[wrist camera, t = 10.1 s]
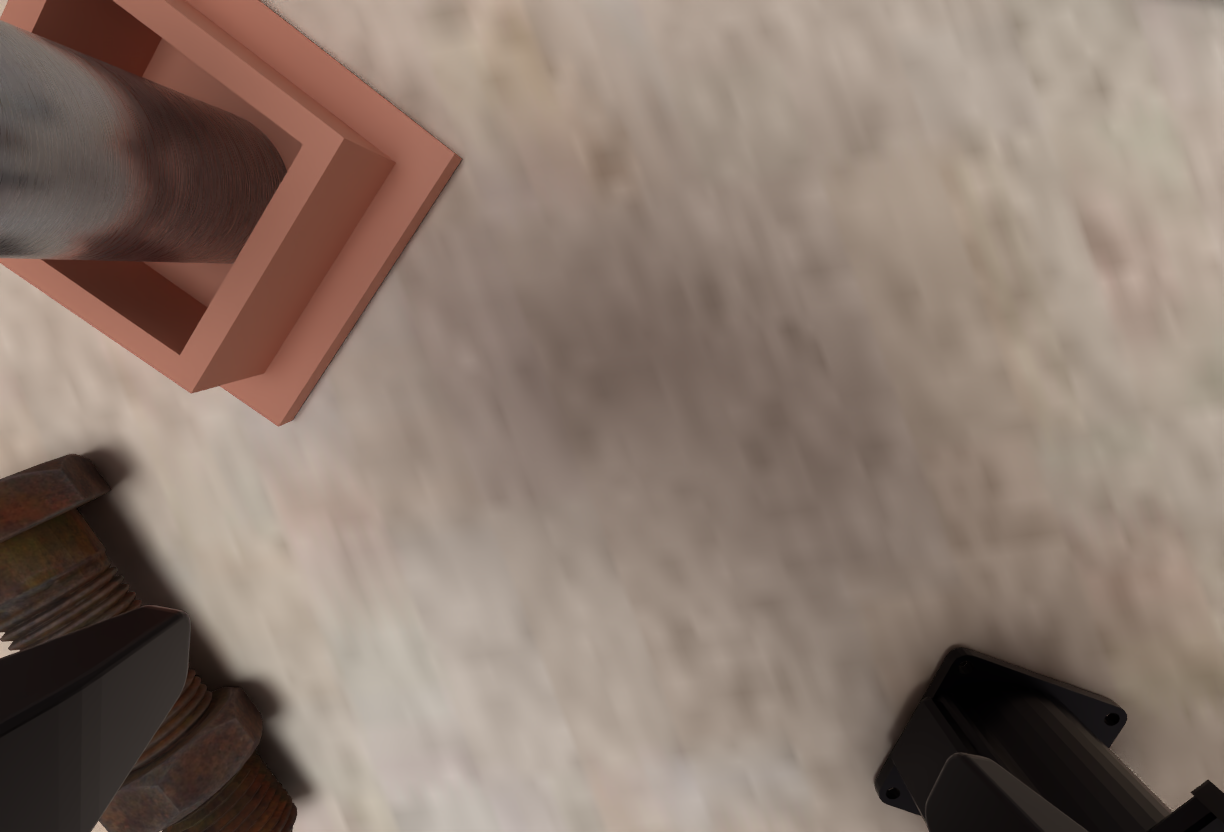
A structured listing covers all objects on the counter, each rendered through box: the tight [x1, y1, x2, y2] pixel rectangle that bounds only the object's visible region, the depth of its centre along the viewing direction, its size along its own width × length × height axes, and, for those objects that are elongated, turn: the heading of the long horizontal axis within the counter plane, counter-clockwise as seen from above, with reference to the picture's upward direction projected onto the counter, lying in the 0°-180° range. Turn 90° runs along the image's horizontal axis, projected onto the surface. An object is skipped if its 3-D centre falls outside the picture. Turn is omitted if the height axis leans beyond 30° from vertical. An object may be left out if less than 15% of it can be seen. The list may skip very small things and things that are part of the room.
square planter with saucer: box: [0, 0, 462, 426], centre depth 16 cm, size 10×10×4 cm
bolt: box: [0, 454, 297, 832], centre depth 20 cm, size 6×5×15 cm
